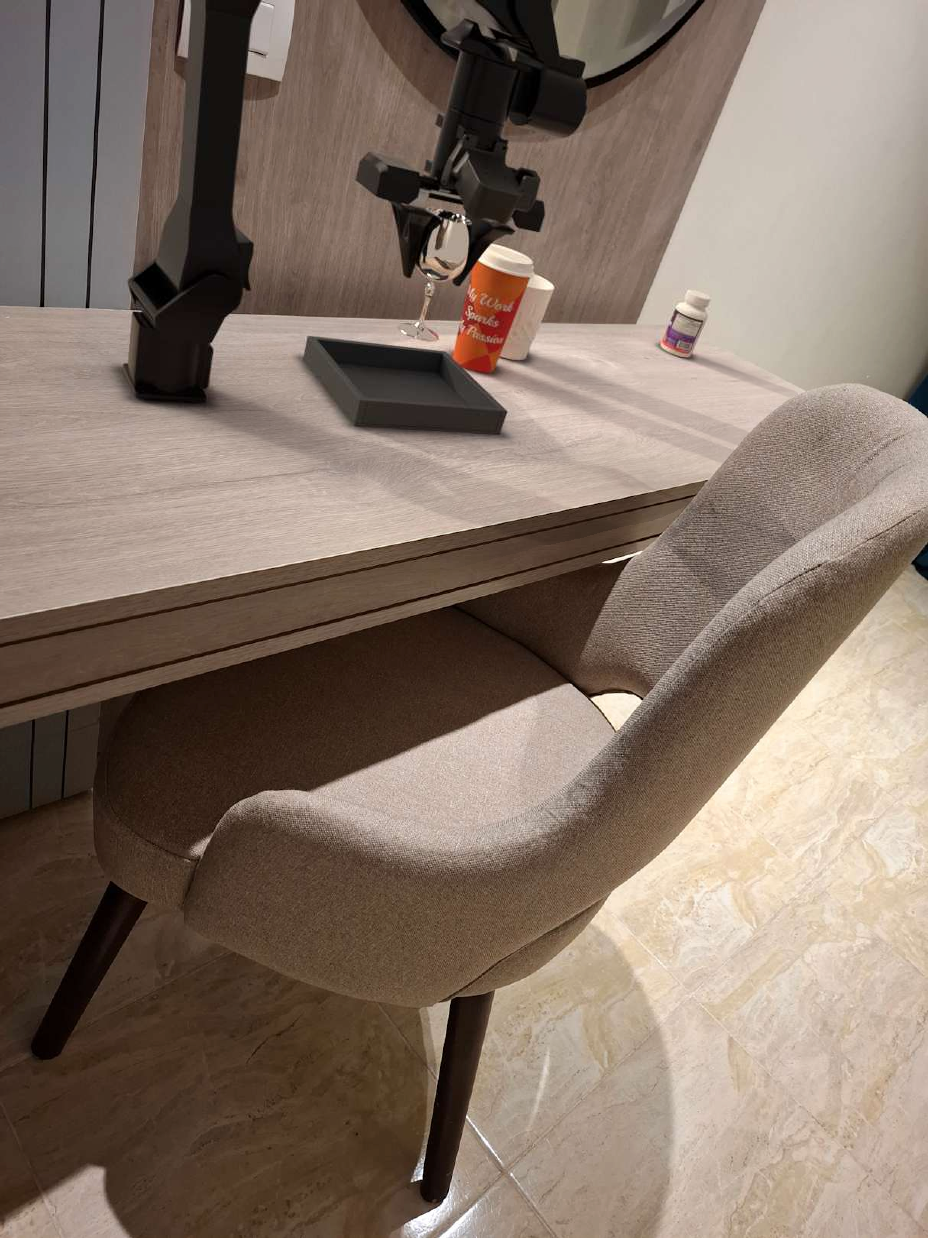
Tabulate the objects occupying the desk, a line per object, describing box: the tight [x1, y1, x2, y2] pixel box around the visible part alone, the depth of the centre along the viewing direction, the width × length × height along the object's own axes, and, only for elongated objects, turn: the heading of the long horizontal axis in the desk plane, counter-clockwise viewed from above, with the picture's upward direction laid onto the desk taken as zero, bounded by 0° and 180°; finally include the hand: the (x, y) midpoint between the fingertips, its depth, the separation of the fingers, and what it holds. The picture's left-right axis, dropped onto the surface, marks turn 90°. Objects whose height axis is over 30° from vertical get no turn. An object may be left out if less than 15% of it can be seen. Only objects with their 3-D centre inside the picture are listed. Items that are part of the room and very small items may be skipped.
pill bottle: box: [660, 289, 712, 358], centre depth 148 cm, size 5×5×10 cm
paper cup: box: [452, 243, 536, 374], centre depth 112 cm, size 8×8×14 cm
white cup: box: [499, 274, 555, 361], centre depth 121 cm, size 8×8×10 cm
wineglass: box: [397, 206, 472, 343], centre depth 92 cm, size 6×6×12 cm
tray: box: [302, 335, 508, 435], centre depth 99 cm, size 18×16×3 cm
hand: (431, 280), depth 93 cm, fingers closed on wineglass, 5 cm apart
